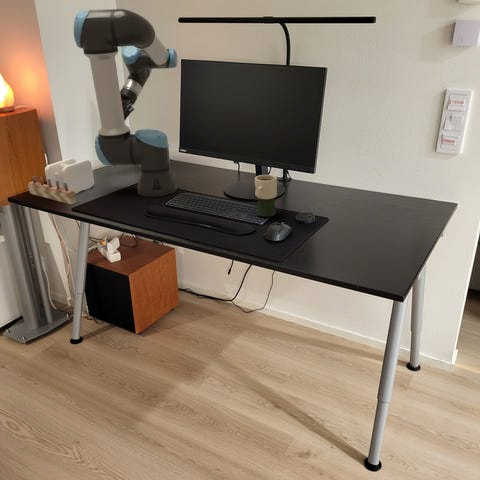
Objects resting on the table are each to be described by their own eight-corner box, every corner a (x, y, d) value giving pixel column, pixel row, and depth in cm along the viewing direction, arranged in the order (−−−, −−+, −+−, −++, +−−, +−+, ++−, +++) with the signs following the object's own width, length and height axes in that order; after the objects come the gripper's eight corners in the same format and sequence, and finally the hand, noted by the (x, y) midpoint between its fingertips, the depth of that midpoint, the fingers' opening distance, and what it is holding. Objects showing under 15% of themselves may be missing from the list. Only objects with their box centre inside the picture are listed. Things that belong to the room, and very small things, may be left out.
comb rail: (76, 202, 182) (73, 183, 179) (71, 204, 180) (67, 185, 177) (35, 191, 196) (31, 173, 193) (30, 193, 194) (26, 175, 191)
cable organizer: (67, 197, 188) (62, 168, 183) (48, 194, 192) (42, 165, 188) (95, 186, 200) (90, 158, 195) (76, 183, 204) (71, 156, 200)
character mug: (263, 208, 169) (262, 172, 164) (282, 211, 166) (282, 174, 161) (249, 219, 160) (248, 181, 155) (269, 222, 157) (268, 183, 152)
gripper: (145, 99, 211) (121, 144, 205) (124, 97, 218) (100, 142, 212) (135, 87, 205) (109, 134, 199) (114, 86, 212) (88, 131, 206)
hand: (105, 138), depth 205 cm, fingers closed
